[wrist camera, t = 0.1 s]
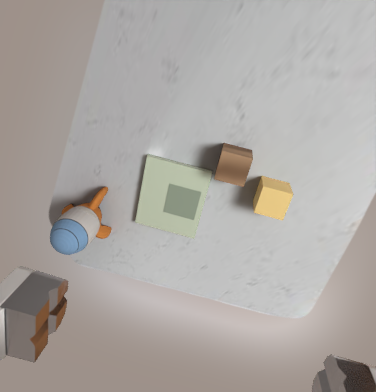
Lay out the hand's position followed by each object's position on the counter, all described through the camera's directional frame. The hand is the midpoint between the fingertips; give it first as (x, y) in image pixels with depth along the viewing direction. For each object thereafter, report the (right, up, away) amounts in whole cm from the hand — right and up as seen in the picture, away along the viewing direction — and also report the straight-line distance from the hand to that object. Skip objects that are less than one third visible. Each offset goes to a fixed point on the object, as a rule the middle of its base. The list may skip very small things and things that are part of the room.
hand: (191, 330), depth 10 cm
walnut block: (+8, +10, +47) cm, 49 cm away
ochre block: (+15, +5, +49) cm, 51 cm away
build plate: (-3, +4, +52) cm, 52 cm away
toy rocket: (-18, +1, +56) cm, 59 cm away
